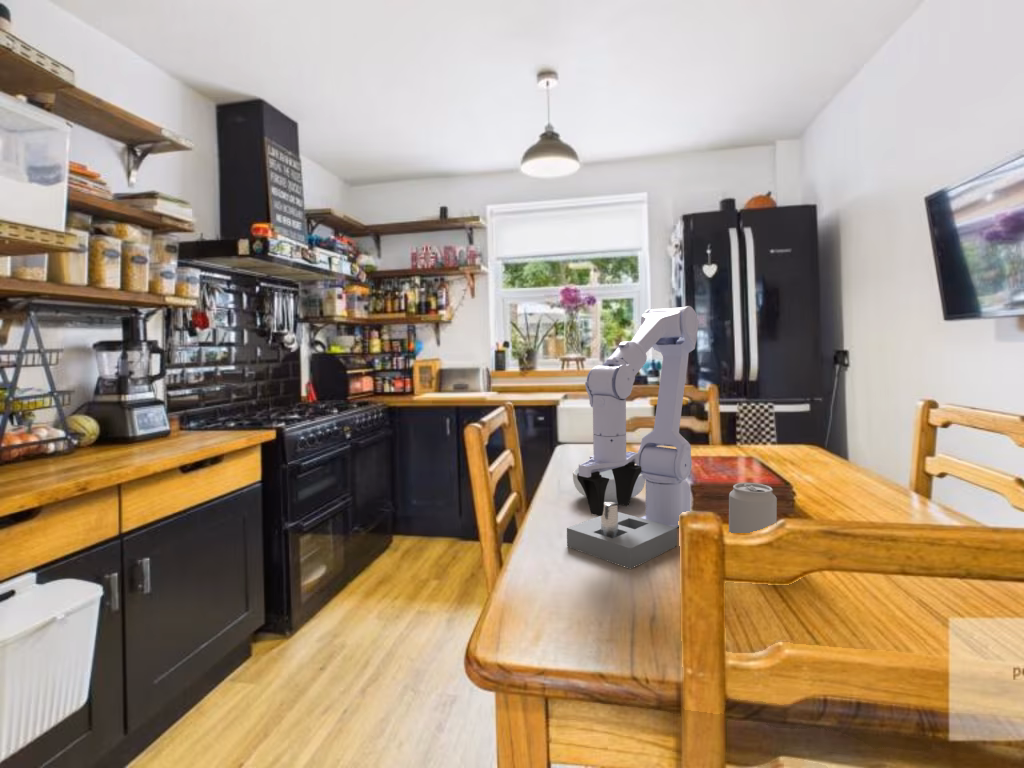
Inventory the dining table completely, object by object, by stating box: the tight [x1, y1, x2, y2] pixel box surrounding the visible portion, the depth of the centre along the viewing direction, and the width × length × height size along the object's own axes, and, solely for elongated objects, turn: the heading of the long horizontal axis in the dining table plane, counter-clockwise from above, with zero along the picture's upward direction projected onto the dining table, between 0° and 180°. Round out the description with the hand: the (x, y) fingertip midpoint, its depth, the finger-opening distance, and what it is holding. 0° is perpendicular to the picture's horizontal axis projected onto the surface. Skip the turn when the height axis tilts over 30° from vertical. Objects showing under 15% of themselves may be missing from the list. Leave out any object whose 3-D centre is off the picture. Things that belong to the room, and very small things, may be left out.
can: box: [728, 482, 778, 533], centre depth 92 cm, size 8×8×12 cm
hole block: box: [566, 511, 678, 569], centre depth 97 cm, size 14×14×4 cm
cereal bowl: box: [572, 466, 646, 505], centre depth 127 cm, size 17×17×7 cm
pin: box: [601, 502, 619, 538], centre depth 95 cm, size 3×3×8 cm
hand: (610, 509), depth 95 cm, fingers open, 7 cm apart
